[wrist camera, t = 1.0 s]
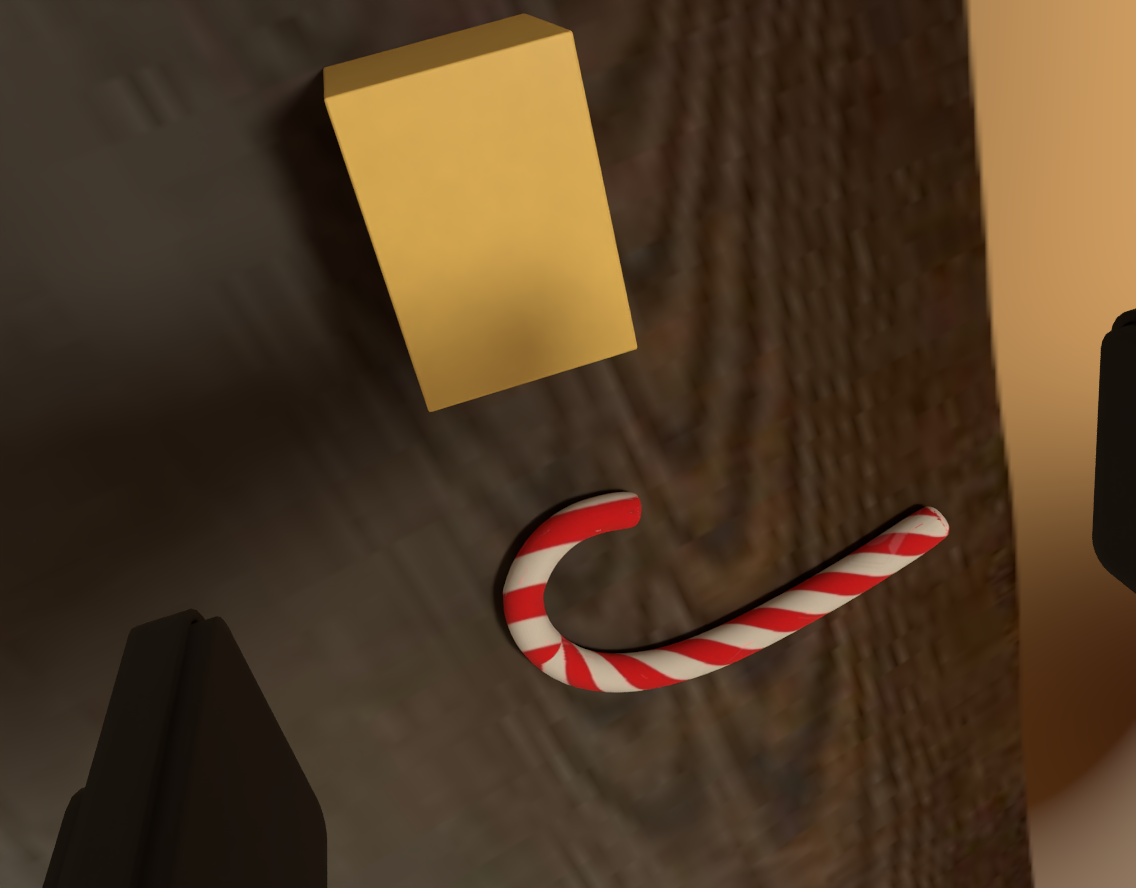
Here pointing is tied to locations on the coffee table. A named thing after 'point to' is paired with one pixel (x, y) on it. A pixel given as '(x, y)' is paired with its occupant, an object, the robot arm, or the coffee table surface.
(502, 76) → the cheese
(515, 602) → the candy cane
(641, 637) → the coffee table surface
